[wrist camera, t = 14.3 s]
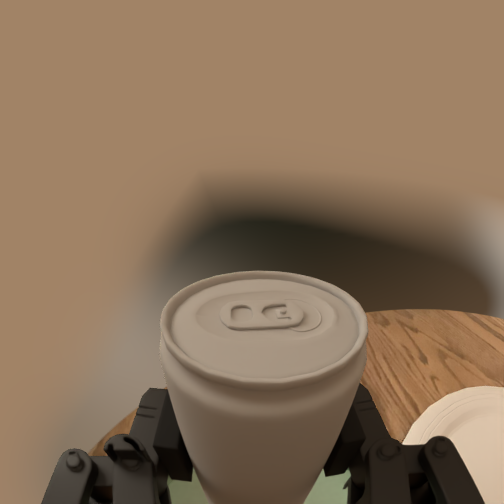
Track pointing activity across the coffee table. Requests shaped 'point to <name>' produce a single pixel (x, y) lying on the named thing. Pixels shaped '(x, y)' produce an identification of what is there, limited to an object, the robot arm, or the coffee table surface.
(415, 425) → the plate
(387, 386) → the coffee table surface
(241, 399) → the beverage can
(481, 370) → the coffee table surface
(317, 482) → the tray
